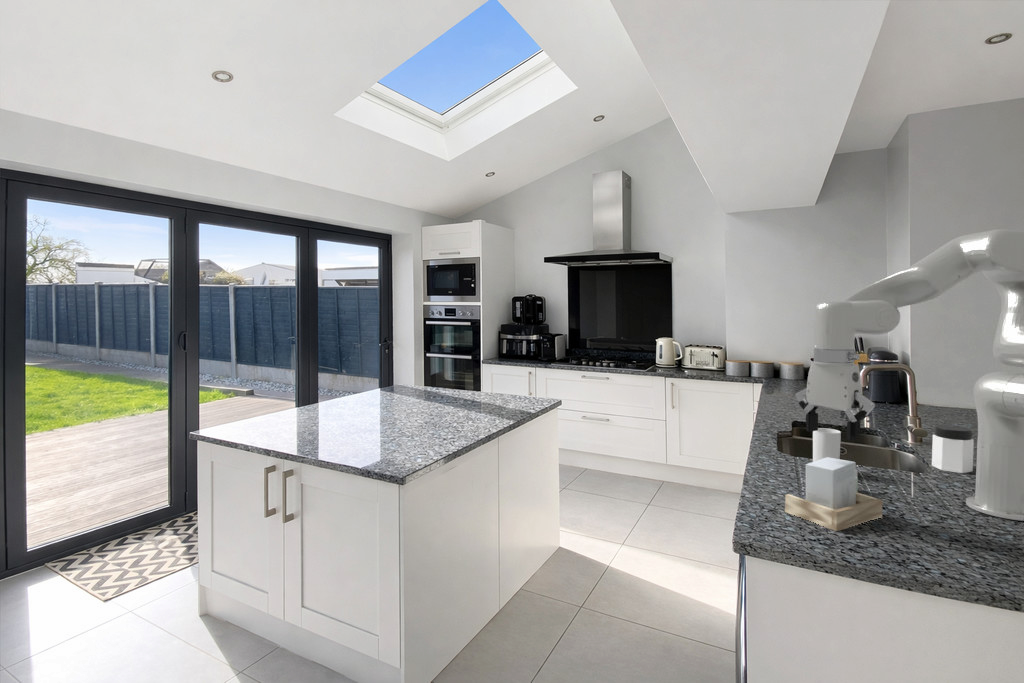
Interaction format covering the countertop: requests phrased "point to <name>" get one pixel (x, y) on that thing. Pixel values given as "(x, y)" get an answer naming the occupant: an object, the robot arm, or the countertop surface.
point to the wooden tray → (835, 511)
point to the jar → (952, 449)
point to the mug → (826, 443)
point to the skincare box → (831, 483)
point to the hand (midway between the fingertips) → (831, 434)
